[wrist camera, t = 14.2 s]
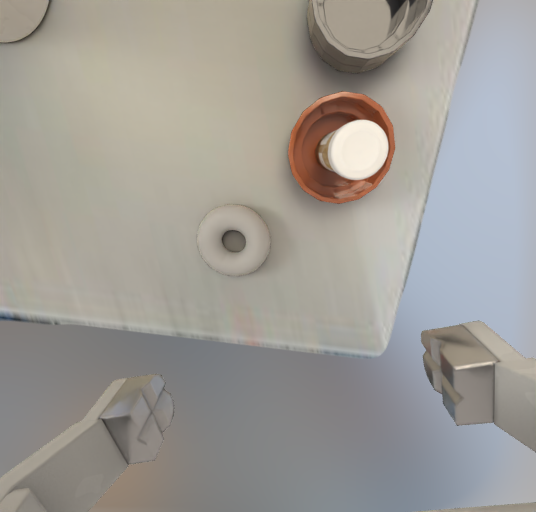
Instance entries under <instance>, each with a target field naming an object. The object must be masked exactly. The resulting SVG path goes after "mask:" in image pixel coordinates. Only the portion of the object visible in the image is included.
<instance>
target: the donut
mask: <svg viewBox="0 0 536 512" xmlns="http://www.w3.org/2000/svg"><path fill="white" fill-rule="evenodd" d="M228 230H237V231H239V232H240V233H242V234H243V235H244V237H245V239H246V245H245V248H244V249H243V250H242V251H240V252H231V251H229V250H227V249H226V248H225V247H224V246H223V243H222V236H223V234H224V233H225V232H226V231H228ZM270 239H271V237H270V234H269V231H268V227H267V225H266V224H265V222H264V221H263V219H262V218H261V216H260V215H258V214H257V213H256V212H254V211H253V210H252V209H250V208H247V207H244V206H242V205H230V204H227V205H224V206H220V207H217V208H215V209H213V210H212V211H211V212H209V213H208V214H207V215H206V216H205V217H204V219H203V220H202V222H201V223H200V226H199V229H198V233H197V247H198V249H199V252H200V254H201V257H202V258H203V259H204V261H205V262H206V263H207V264H208V266H210V267H211V268H213V269H214V270H216V271H217V272H219V273H222V274H225V275H228V276H242V275H246V274H250V273H251V272H253V271H255V270H256V269H258V268H259V267H260V266H261V265H262V263H263V262H264V261H265V260H266V258H267V256H268V253H269V250H270Z"/></svg>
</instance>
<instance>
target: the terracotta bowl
mask: <svg viewBox="0 0 536 512" xmlns="http://www.w3.org/2000/svg"><path fill="white" fill-rule="evenodd" d="M356 120H369V121H372V122H374V123H376V124H378V125H379V126H380V127H381V128H382V129H383V131H384V132H385V134H386V136H387V139H388V155H387V158H386V160H385V162H384V164H383V166H382V167H381V168H380V169H379V170H378V171H377V172H376V173H375V174H374V175H372V176H370V177H368V178H366V179H362V180H351V179H347V178H344V177H342V176H340V175H338V174H337V173H336V172H333V171H328V170H325V169H324V168H322V167H321V166H320V165H319V164H318V162H317V159H316V154H315V150H316V146H317V144H318V142H319V141H320V140H321V138H322V137H323V136H325V135H326V134H328V133H331V132H333V131H336V130H338V129H339V128H340V127H342V126H343V125H345V124H347V123H349V122H352V121H356ZM394 150H395V141H394V131H393V125H392V123H391V122H390V120H389V118H388V116H387V114H386V113H385V111H384V109H383V107H382V106H380V105H379V104H377V103H376V102H375V101H373V100H372V99H370V98H369V97H367V96H366V95H364V94H358V93H352V92H345V91H341V92H338V93H334V94H331V95H327V96H324V97H321V98H320V99H318V100H317V101H316V102H315V103H313V104H312V105H311V106H310V107H308V108H307V109H306V110H305V111H303V113H302V114H301V116H300V118H299V120H298V121H297V123H296V125H295V127H294V128H293V130H292V132H291V137H290V143H289V149H288V157H289V161H290V166H291V171H292V174H293V176H294V177H295V179H296V180H297V182H298V183H299V185H300V186H301V188H302V189H303V190H304V191H305V192H307V193H308V194H310V195H311V196H313V197H315V198H316V199H318V200H320V201H325V202H331V203H337V204H340V203H345V202H349V201H353V200H357V199H360V198H361V197H363V196H364V195H366V194H367V193H369V192H370V191H372V190H373V189H375V188H376V187H377V186H378V184H379V183H380V181H381V180H382V179H383V177H384V176H385V175H386V173H387V172H388V170H389V168H390V164H391V161H392V157H393V154H394Z"/></svg>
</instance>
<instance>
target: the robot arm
mask: <svg viewBox="0 0 536 512" xmlns="http://www.w3.org/2000/svg"><path fill="white" fill-rule="evenodd" d="M48 3H49V0H0V42H13V41H17V40H20V39H22V38H24V37H26V36H27V35H29V34H30V33H31V32H33V31H34V30H35V29H36V28H37V26H38V25H39V24H40V22H41V21H42V19H43V17H44V15H45V13H46V10H47V7H48ZM421 342H422V344H423V346H424V347H425V348H426V352H425V353H424V355H423V361H424V367H425V371H426V374H427V377H428V379H429V381H430V383H431V385H432V386H433V388H434V390H435V391H437V392H439V393H441V394H442V396H443V404H444V406H445V407H446V409H447V410H448V412H449V414H450V415H451V417H452V418H453V420H454V422H455V423H456V425H457V426H459V425H470V424H482V423H493V422H494V424H495V425H496V426H498V427H499V428H501V429H502V430H504V431H505V432H507V433H508V434H509V435H511V436H513V437H514V438H515V439H517V440H518V441H520V442H521V443H523V444H524V445H526V446H528V447H529V448H530V449H532V450H533V451H535V452H536V359H535V358H527V359H526V358H525V357H523V356H522V355H521V354H520V353H519V352H518V351H516V350H515V349H514V348H513V347H512V346H511V345H509V344H508V343H507V342H506V341H505V340H503V339H502V338H501V337H500V336H499V335H498V334H496V333H495V332H494V331H493V330H492V329H491V328H489V327H488V326H487V325H486V324H485V323H483V322H481V321H473V322H468V323H462V324H459V325H455V326H449V327H443V328H437V329H431V330H425V331H422V333H421ZM165 384H166V382H165V381H164V379H163V377H162V375H160V374H152V375H144V376H137V377H131V378H124V379H118V380H115V381H113V382H112V383H111V384H110V385H109V387H108V388H107V389H106V391H105V392H104V393H103V394H102V396H101V397H100V398H99V400H98V401H97V402H96V403H95V405H94V406H93V407H92V409H91V410H90V411H89V412H88V414H87V415H86V416H85V418H84V419H83V420H82V421H81V422H77V423H76V424H74V425H73V426H71V427H70V428H68V429H67V430H66V431H64V432H63V433H62V434H60V435H59V436H58V437H56V438H55V439H54V440H52V441H50V442H49V443H48V444H46V445H45V446H44V447H42V448H41V449H39V450H38V451H37V452H35V453H34V454H32V455H31V456H30V457H29V458H27V459H26V460H24V461H23V462H21V463H20V464H19V465H17V466H16V467H14V468H13V469H12V470H10V471H9V472H8V473H6V474H5V475H3V476H2V477H1V478H0V512H88V511H89V510H90V509H91V508H92V507H93V506H94V504H95V503H96V502H97V501H98V500H99V499H100V498H101V497H102V495H103V494H104V493H105V492H106V491H107V490H108V489H109V488H110V486H111V485H112V484H113V483H114V482H115V481H116V480H117V478H118V477H119V476H120V475H121V474H122V473H123V472H124V471H125V469H126V468H127V467H128V465H129V464H136V463H142V462H149V461H155V459H156V456H157V454H158V452H159V450H160V447H161V445H162V443H163V440H164V437H163V432H164V431H165V430H166V429H167V428H168V427H169V426H170V424H171V422H172V419H173V416H174V402H173V398H172V396H171V394H170V393H169V392H167V391H166V390H165V389H164V387H165ZM418 512H536V502H533V503H521V504H507V505H494V506H482V507H469V508H457V509H443V510H431V511H418Z"/></svg>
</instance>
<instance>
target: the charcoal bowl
mask: <svg viewBox="0 0 536 512" xmlns="http://www.w3.org/2000/svg"><path fill="white" fill-rule="evenodd" d="M432 2H433V0H309V4H308V11H307V23H308V29H309V34H310V40H311V42H312V44H313V46H314V47H315V49H316V51H317V52H318V54H319V56H320V57H321V59H322V60H323V61H325V62H326V63H327V64H329V65H330V66H332V67H333V68H335V69H336V70H338V71H344V72H350V73H360V72H364V71H367V70H371V69H374V68H377V67H378V66H379V65H381V64H382V63H383V62H385V61H386V60H387V59H388V58H390V57H391V56H392V55H393V54H395V53H396V52H397V51H398V50H399V49H400V48H401V47H402V46H403V45H404V44H405V43H406V42H407V41H409V40H410V39H411V38H412V37H413V36H414V35H415V33H416V31H417V30H418V28H419V27H420V25H421V24H422V22H423V21H424V19H425V18H426V16H427V14H428V13H429V11H430V9H431V5H432Z"/></svg>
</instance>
